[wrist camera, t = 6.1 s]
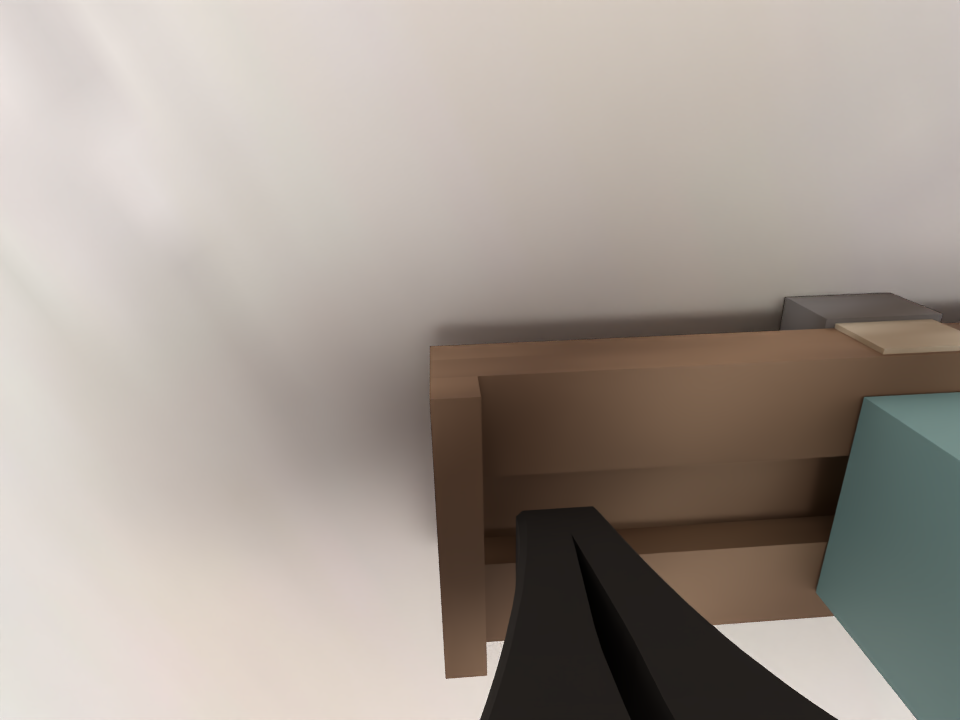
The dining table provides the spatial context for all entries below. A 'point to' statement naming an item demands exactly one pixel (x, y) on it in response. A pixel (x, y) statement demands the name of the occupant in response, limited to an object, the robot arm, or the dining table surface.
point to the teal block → (902, 548)
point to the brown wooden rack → (669, 452)
